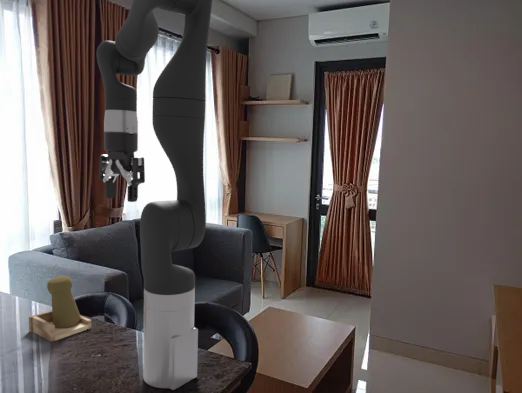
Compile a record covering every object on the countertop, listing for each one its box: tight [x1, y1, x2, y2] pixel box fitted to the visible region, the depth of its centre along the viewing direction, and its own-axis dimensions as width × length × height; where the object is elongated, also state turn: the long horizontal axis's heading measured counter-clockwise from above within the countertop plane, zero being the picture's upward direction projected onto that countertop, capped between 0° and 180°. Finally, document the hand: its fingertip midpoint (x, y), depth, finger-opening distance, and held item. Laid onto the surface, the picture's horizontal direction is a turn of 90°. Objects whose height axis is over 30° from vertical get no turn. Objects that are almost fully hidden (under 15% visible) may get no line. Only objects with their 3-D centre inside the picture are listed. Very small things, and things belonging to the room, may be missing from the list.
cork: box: [46, 275, 81, 328], centre depth 100 cm, size 6×6×11 cm
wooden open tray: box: [28, 310, 92, 343], centre depth 100 cm, size 9×10×4 cm
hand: (120, 199), depth 102 cm, fingers open, 8 cm apart
